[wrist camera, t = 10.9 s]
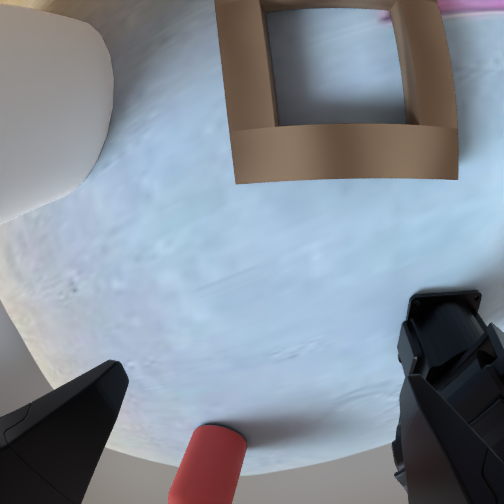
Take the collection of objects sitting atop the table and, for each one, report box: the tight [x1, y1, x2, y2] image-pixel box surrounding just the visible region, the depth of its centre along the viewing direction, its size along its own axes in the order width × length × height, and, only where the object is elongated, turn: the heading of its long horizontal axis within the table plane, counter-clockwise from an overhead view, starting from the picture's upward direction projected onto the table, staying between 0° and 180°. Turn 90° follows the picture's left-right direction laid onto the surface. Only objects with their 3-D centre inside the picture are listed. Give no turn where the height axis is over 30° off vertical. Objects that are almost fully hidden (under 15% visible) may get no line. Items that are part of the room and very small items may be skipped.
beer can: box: [168, 425, 247, 504], centre depth 26 cm, size 7×7×12 cm
